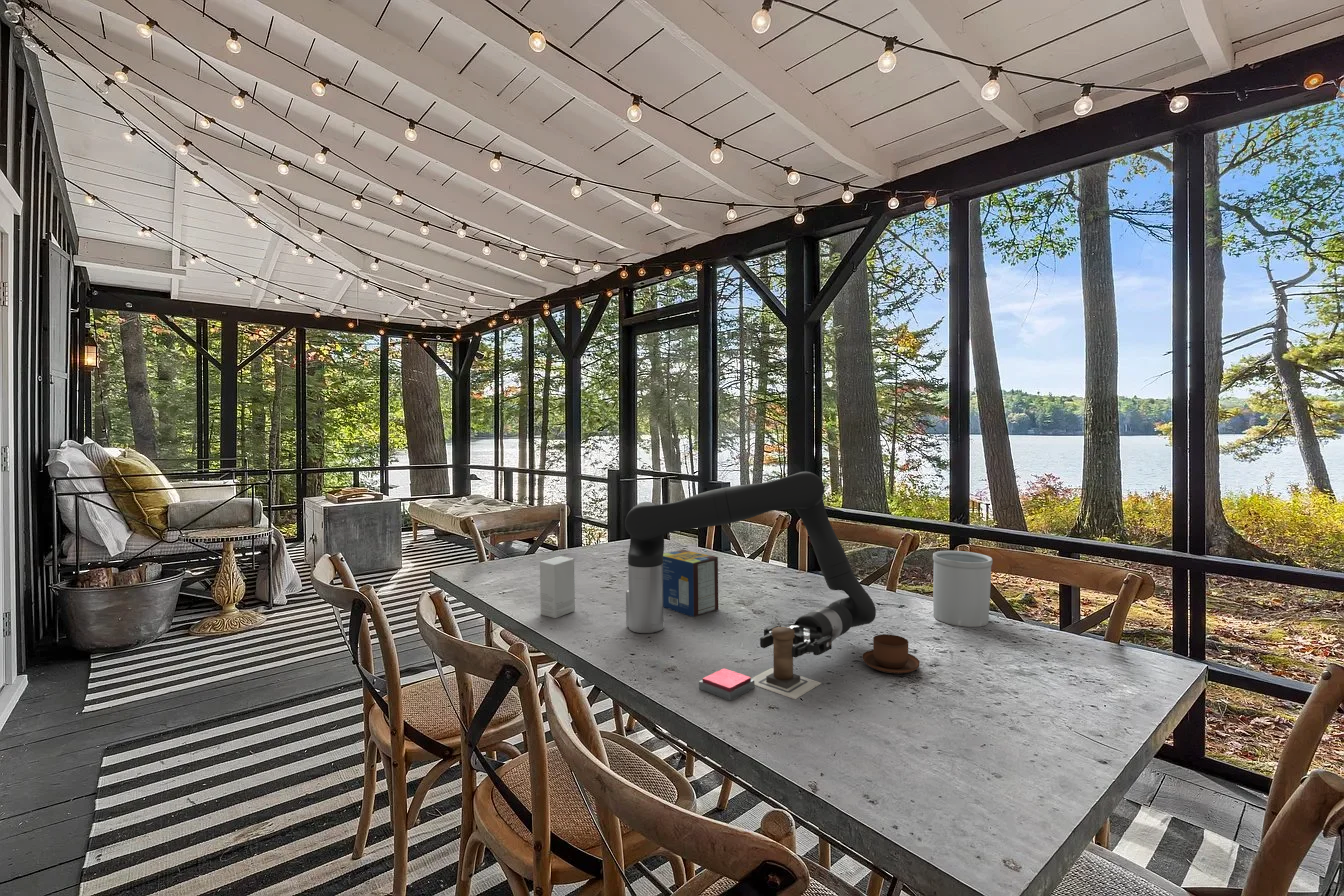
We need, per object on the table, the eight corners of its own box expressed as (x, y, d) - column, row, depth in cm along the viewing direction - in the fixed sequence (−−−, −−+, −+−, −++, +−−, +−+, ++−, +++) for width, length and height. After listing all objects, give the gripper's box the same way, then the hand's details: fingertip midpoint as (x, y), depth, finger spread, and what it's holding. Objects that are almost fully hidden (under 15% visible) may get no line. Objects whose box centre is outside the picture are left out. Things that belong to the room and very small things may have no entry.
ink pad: (699, 688, 125) (699, 678, 125) (723, 677, 131) (723, 666, 131) (730, 700, 120) (730, 689, 120) (754, 687, 126) (754, 677, 125)
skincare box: (560, 607, 182) (560, 555, 181) (576, 611, 178) (576, 558, 177) (539, 615, 175) (538, 560, 174) (555, 619, 171) (554, 563, 171)
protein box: (682, 598, 190) (682, 549, 190) (719, 609, 179) (718, 556, 178) (657, 605, 183) (656, 554, 183) (693, 617, 172) (693, 562, 171)
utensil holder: (1002, 621, 166) (1003, 557, 166) (972, 632, 158) (973, 564, 157) (951, 608, 179) (952, 548, 178) (920, 617, 170) (921, 554, 170)
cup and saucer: (850, 662, 139) (850, 635, 139) (891, 654, 144) (892, 628, 144) (889, 682, 128) (889, 653, 128) (932, 672, 133) (932, 644, 133)
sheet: (745, 682, 128) (745, 680, 128) (772, 668, 136) (772, 666, 136) (795, 699, 120) (795, 698, 120) (821, 683, 127) (821, 682, 127)
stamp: (766, 682, 128) (766, 630, 127) (779, 674, 131) (779, 624, 131) (786, 689, 124) (786, 636, 124) (800, 681, 128) (800, 630, 128)
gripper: (791, 605, 143) (748, 622, 131) (848, 618, 133) (808, 637, 121) (791, 637, 143) (748, 656, 131) (848, 652, 133) (807, 675, 121)
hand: (777, 647), depth 126 cm, fingers open, 7 cm apart
